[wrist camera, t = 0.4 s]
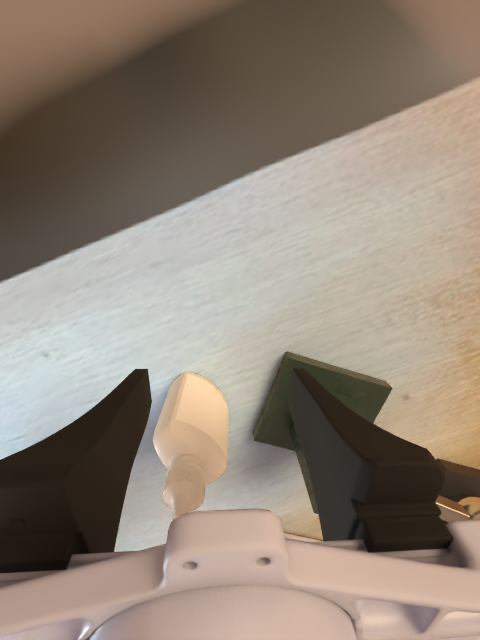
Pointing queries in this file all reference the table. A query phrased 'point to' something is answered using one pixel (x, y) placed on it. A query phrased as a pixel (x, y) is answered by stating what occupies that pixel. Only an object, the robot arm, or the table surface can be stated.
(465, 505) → the lever
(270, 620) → the robot arm
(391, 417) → the table surface
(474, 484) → the button box
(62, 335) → the table surface
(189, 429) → the eye dropper bottle
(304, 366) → the bracket
